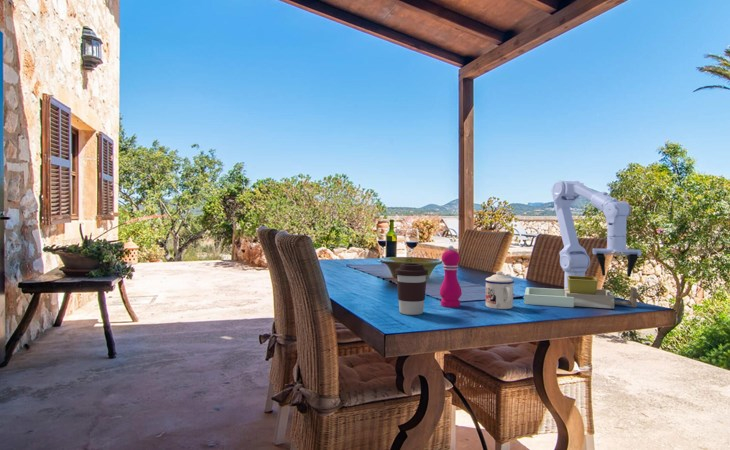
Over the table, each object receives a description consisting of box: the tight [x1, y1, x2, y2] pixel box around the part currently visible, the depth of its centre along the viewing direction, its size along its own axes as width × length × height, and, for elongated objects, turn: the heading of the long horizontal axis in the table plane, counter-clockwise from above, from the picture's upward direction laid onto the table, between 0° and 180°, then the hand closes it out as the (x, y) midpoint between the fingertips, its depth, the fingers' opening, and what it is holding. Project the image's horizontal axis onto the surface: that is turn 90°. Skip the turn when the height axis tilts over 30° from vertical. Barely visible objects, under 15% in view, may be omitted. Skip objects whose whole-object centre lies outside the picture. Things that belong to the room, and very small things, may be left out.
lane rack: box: [523, 286, 575, 308], centre depth 159 cm, size 17×15×3 cm
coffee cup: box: [394, 262, 429, 316], centre depth 139 cm, size 10×10×15 cm
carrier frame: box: [565, 286, 638, 309], centre depth 153 cm, size 14×21×6 cm, turn 69°
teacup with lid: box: [484, 270, 515, 310], centre depth 148 cm, size 12×9×12 cm
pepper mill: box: [439, 245, 462, 308], centre depth 151 cm, size 7×7×20 cm
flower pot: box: [567, 275, 598, 295], centre depth 154 cm, size 9×9×9 cm
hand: (616, 275), depth 156 cm, fingers open, 7 cm apart
